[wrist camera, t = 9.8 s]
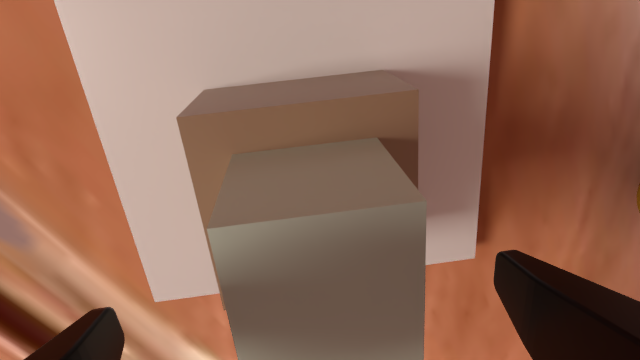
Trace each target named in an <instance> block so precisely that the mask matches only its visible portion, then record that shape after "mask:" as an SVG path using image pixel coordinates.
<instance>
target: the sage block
mask: <svg viewBox="0 0 640 360" xmlns="http://www.w3.org/2000/svg"><path fill="white" fill-rule="evenodd" d="M426 212H427V201H426V199H425V198H424V197H423V196H422V194H421V193H420V192H419V190H418V189H417V188H416V187H415V185H414V184H413V183H412V182H411V180H410V179H409V178H408V176H407V175H406V174H405V173H404V171H403V170H402V169H401V167H400V166H399V165H398V164H397V162H396V161H395V160H394V159H393V157H392V156H391V155H390V153H389V152H388V151H387V150H386V148H385V147H384V146H383V144H382V143H381V142H380V141H379V139H378V138H377V137H376V138H368V139H359V140H351V141H342V142H334V143H325V144H317V145H309V146H300V147H292V148H283V149H275V150H266V151H258V152H249V153H241V154H232V156H231V159H230V162H229V165H228V168H227V171H226V174H225V177H224V180H223V183H222V186H221V189H220V191H219V194H218V197H217V200H216V203H215V206H214V209H213V212H212V215H211V218H210V221H209V224H208V227H207V232H208V237H209V241H210V245H211V249H212V253H213V257H214V261H215V266H216V270H217V274H218V278H219V282H220V286H221V290H222V295H223V299H224V303H225V307H226V311H227V315H228V319H229V324H230V328H231V332H232V336H233V340H234V344H235V348H236V353H237V357H238V360H424V316H425V264H426Z"/></svg>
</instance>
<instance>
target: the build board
mask: <svg viewBox="0 0 640 360" xmlns="http://www.w3.org/2000/svg"><path fill="white" fill-rule="evenodd" d="M54 2H55V5H56V8H57V11H58V14H59V17H60V20H61V23H62V26H63V29H64V32H65V35H66V38H67V41H68V44H69V47H70V50H71V53H72V56H73V59H74V62H75V65H76V68H77V71H78V74H79V77H80V80H81V83H82V86H83V89H84V92H85V95H86V98H87V101H88V104H89V107H90V110H91V113H92V116H93V119H94V122H95V125H96V128H97V131H98V133H99V136H100V139H101V142H102V145H103V148H104V151H105V154H106V157H107V160H108V163H109V166H110V169H111V172H112V175H113V178H114V181H115V184H116V187H117V190H118V193H119V196H120V199H121V202H122V205H123V208H124V211H125V214H126V217H127V220H128V223H129V226H130V229H131V232H132V235H133V238H134V241H135V244H136V247H137V250H138V253H139V256H140V259H141V262H142V265H143V268H144V271H145V274H146V277H147V280H148V283H149V286H150V289H151V292H152V295H153V298H154V301H155V302H159V301H167V300H174V299H181V298H188V297H196V296H203V295H210V294H218V293H220V296H221V300H222V304H223V308H224V310H226V307H225V303H224V299H223V295H222V290H221V286H220V282H219V278H218V274H217V270H216V266H215V261H214V257H213V253H212V249H211V245H210V241H209V237H208V232H207V227H208V224H209V221H210V218H211V215H212V212H213V209H214V206H215V203H216V200H217V197H218V194H219V191H220V189H221V186H222V183H223V180H224V177H225V174H226V171H227V168H228V165H229V162H230V159H231V156H232V154H241V153H249V152H258V151H266V150H275V149H283V148H292V147H300V146H309V145H317V144H325V143H334V142H342V141H351V140H359V139H368V138H376V137H377V138H378V139H379V141H380V142H381V143H382V144H383V146H384V147H385V148H386V150H387V151H388V152H389V153H390V155H391V156H392V157H393V159H394V160H395V161H396V162H397V164H398V165H399V166H400V167H401V169H402V170H403V171H404V173H405V174H406V175H407V176H408V178H409V179H410V180H411V182H412V183H413V184H414V185H415V187H416V188H417V189H418V190H419V192H420V193H421V194H422V196H423V197H424V198H425V199H426V201H427V212H426V264H425V265H429V264H436V263H443V262H450V261H458V260H465V259H472V258H475V250H476V237H477V224H478V211H479V198H480V185H481V172H482V159H483V146H484V133H485V120H486V107H487V94H488V81H489V68H490V55H491V42H492V29H493V16H494V3H495V0H54Z"/></svg>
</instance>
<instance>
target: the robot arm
mask: <svg viewBox="0 0 640 360" xmlns="http://www.w3.org/2000/svg"><path fill="white" fill-rule="evenodd" d="M494 286H495V289H496V291H497V293H498V295H499V297H500V299H501V301H502V303H503V305H504V307H505V309H506V311H507V313H508V315H509V317H510V319H511V321H512V323H513V325H514V327H515V329H516V331H517V333H518V335H519V337H520V339H521V340H522V342H523V344H524V346H525V348H526V349H527V351H528V353H529V354H530V356H531V358H532V359H533V360H640V302H639V301H637V300H634V299H632V298H630V297H627V296H625V295H622V294H620V293H618V292H615V291H613V290H611V289H608V288H606V287H603V286H601V285H599V284H596V283H594V282H591V281H589V280H587V279H584V278H582V277H579V276H577V275H575V274H572V273H570V272H568V271H565V270H563V269H560V268H558V267H556V266H553V265H551V264H548V263H546V262H544V261H541V260H539V259H536V258H534V257H532V256H529V255H527V254H525V253H522V252H520V251H517V250H508V251H501V252H499V253H498V254H497V255H496V261H495V272H494ZM124 341H125V339H124V333H123V330H122V328H121V325H120V323H119V320H118V318H117V315H116V313H115V311H114V309H113V308H111V307H105V308H98V309H93V310H91V311H89V312H88V313H86V314H85V315H84V316H82V317H81V318H80V319H78V320H77V321H76V322H74V323H73V324H72V325H70V326H69V327H67V328H66V329H65V330H63V331H62V332H61V333H59V334H58V335H57V336H55V337H54V338H53V339H51V340H50V341H48V342H47V343H46V344H44V345H43V346H42V347H40V348H39V349H38V350H36V351H35V352H34V353H32V354H31V355H29V356H28V357H27V358H25V359H24V360H120V359H121V355H122V351H123V347H124Z"/></svg>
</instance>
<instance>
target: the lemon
mask: <svg viewBox="0 0 640 360" xmlns="http://www.w3.org/2000/svg"><path fill="white" fill-rule="evenodd" d="M637 206H638V209H639V212H640V184H639V187H638V191H637Z"/></svg>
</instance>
